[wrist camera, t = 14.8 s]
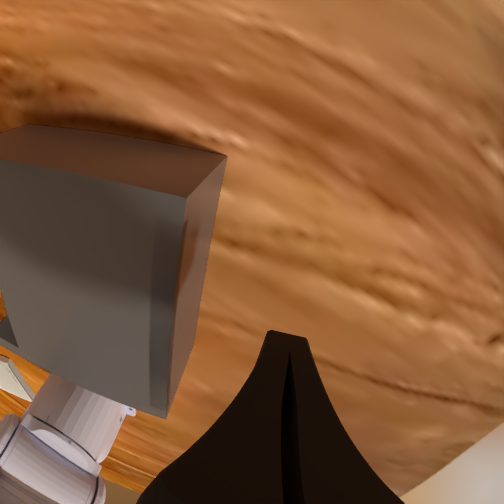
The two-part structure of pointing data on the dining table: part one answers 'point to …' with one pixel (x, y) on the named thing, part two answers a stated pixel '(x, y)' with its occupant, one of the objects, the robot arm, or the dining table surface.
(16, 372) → the hard drive
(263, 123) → the dining table surface
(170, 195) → the housing
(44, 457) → the robot arm
